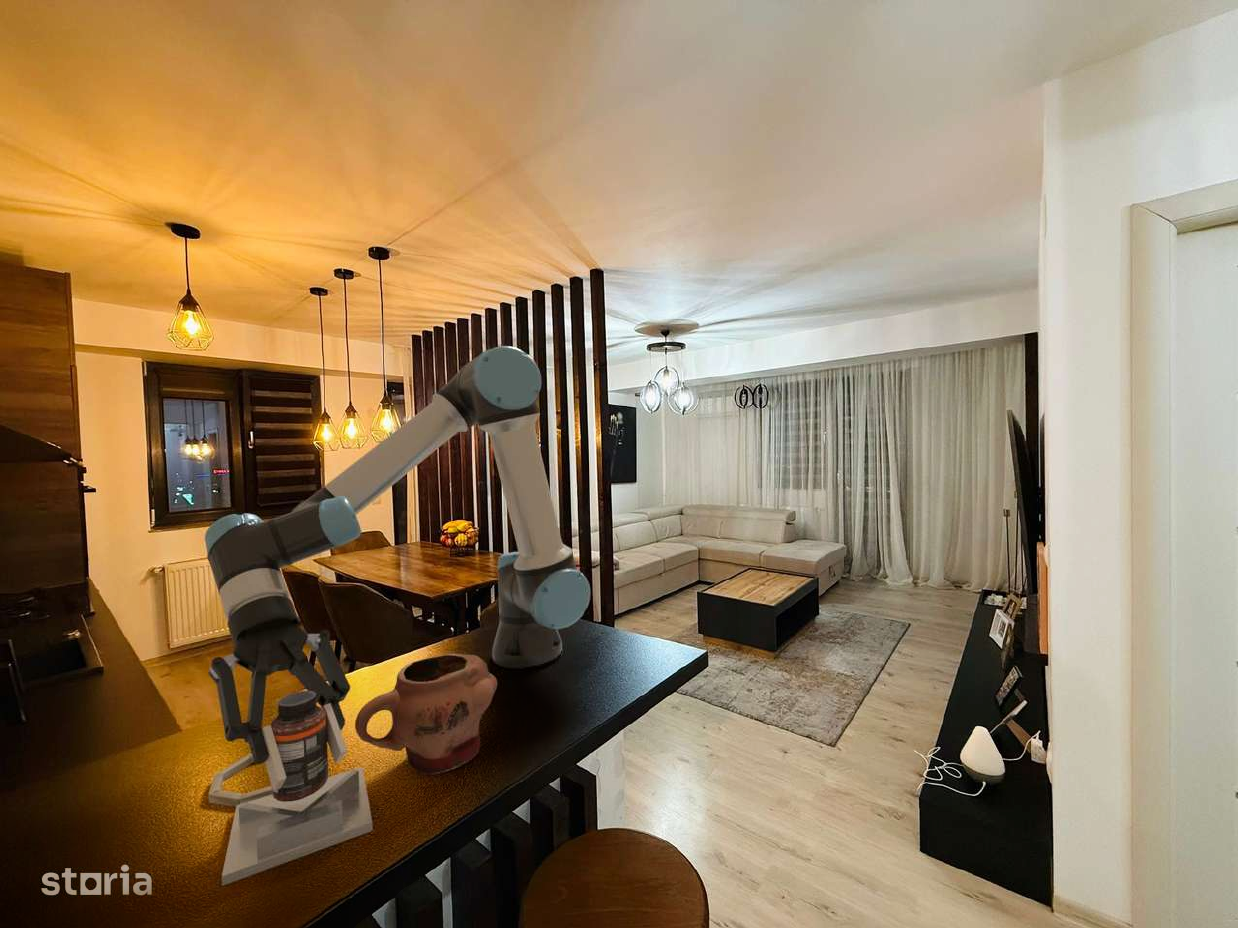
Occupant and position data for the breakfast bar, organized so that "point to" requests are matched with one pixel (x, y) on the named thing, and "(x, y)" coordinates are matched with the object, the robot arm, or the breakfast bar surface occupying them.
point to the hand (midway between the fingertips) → (311, 769)
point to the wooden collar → (230, 797)
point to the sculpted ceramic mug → (434, 711)
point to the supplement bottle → (301, 745)
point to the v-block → (296, 825)
